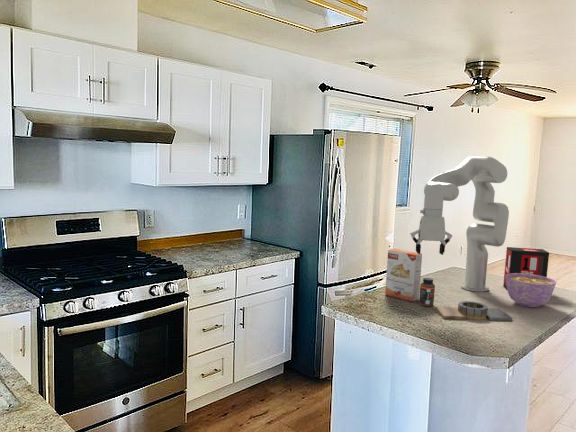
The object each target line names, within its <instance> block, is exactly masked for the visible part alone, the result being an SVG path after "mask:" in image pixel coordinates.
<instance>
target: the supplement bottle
mask: <svg viewBox="0 0 576 432" xmlns="http://www.w3.org/2000/svg"><path fill="white" fill-rule="evenodd" d="M435 290H436V285H435V283H434V278H430V277H423V278H422V282H420V291H419V299H418V303H419V304H420V305H421V306H423V307H433V306H434V301H435Z"/></svg>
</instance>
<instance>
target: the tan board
mask: <svg viewBox="0 0 576 432" xmlns="http://www.w3.org/2000/svg"><path fill="white" fill-rule="evenodd" d="M470 308H473V307H470ZM434 311H435V312H436V313H438V315H440V317H441V318H442V319H443V320H468V319H471V320H479V321H480V320H485V319H487V318H486V316H487V313H486V314H481V315H479V314H469V313H465V312H462V311H460V310H459V309H458V306H434Z"/></svg>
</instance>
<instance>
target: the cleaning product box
mask: <svg viewBox="0 0 576 432" xmlns="http://www.w3.org/2000/svg"><path fill="white" fill-rule="evenodd" d="M505 253H506V254H505V264H504V274H503V285H502V287H503V288H504V289H505V290H506V291H507V292H508V290H507V285H506V278H505V275H507V274H511V273H524V274H533V275H539V276H543V277H547V278H548V269H549V268H548V267H549V258H550V251H547V250H545V249H544V248H528V247H516V246H515V247H513V246H507V247H506V252H505Z"/></svg>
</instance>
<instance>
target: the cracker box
mask: <svg viewBox="0 0 576 432" xmlns="http://www.w3.org/2000/svg"><path fill="white" fill-rule="evenodd" d="M422 258H423V254H422V253H421V252H420V254H418V253H417V251H409V250H404V249H397V248H392V249H388V250H387V258H386V260H387V263H386V277H385V295H386V296H388V297H389V296H390V297H393V298H397V299H401V300H406V301H407V302H413V303H414V302H416V301H419V297H420V285H421V276H422V275H421V274H422V264H423V263H422V262H423V261H422V260H423V259H422Z"/></svg>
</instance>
